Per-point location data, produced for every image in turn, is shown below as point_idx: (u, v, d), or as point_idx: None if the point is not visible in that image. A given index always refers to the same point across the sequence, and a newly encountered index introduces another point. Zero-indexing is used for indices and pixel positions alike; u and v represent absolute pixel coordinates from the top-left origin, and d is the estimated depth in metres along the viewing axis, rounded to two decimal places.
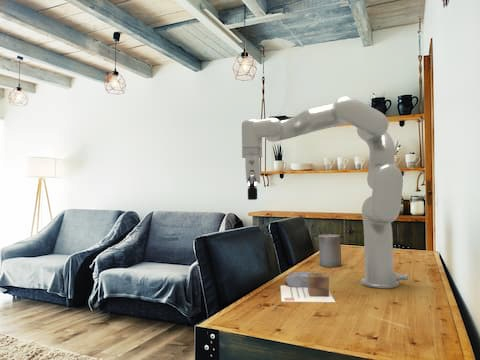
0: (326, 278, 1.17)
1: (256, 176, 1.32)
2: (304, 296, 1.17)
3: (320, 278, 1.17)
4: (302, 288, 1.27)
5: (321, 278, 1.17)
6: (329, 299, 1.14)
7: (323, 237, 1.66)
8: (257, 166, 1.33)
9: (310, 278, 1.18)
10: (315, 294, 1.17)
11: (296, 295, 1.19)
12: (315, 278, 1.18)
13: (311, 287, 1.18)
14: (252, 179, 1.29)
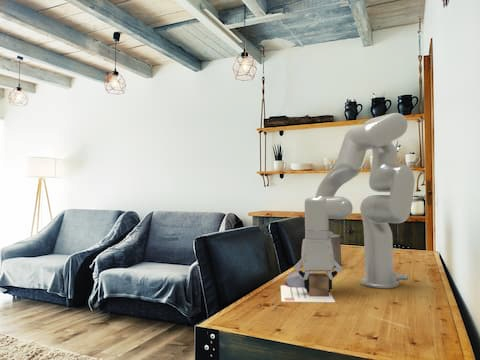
0: (326, 278, 1.17)
1: None
2: (304, 296, 1.17)
3: (320, 278, 1.17)
4: (302, 288, 1.27)
5: (321, 278, 1.17)
6: (329, 299, 1.14)
7: None
8: None
9: (310, 278, 1.18)
10: (315, 294, 1.17)
11: (296, 295, 1.19)
12: (315, 278, 1.18)
13: (311, 287, 1.18)
14: None
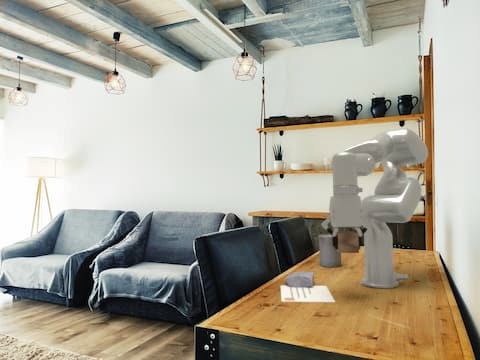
0: (356, 234, 1.14)
1: None
2: (304, 296, 1.17)
3: (349, 234, 1.14)
4: (302, 288, 1.27)
5: (351, 234, 1.14)
6: (329, 299, 1.14)
7: (323, 237, 1.66)
8: None
9: (339, 234, 1.15)
10: (344, 251, 1.14)
11: (296, 295, 1.19)
12: (344, 234, 1.14)
13: (340, 244, 1.14)
14: None
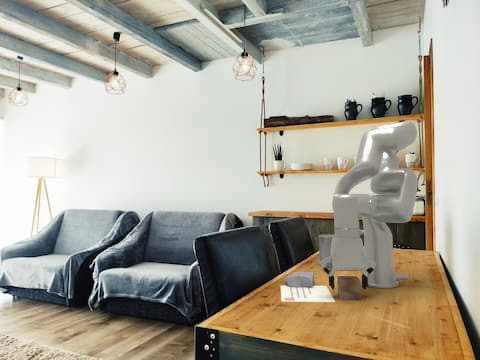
0: (358, 281, 1.13)
1: None
2: (304, 296, 1.17)
3: (351, 281, 1.14)
4: (302, 288, 1.27)
5: (353, 281, 1.14)
6: (329, 299, 1.14)
7: (323, 237, 1.66)
8: None
9: (341, 281, 1.14)
10: (346, 298, 1.14)
11: (296, 295, 1.19)
12: (346, 281, 1.14)
13: (342, 291, 1.14)
14: None
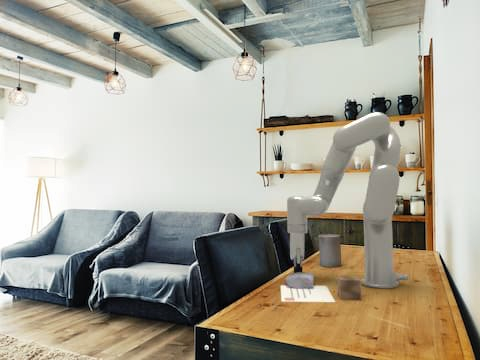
0: (358, 281, 1.13)
1: None
2: (304, 296, 1.17)
3: (351, 281, 1.14)
4: (302, 288, 1.27)
5: (353, 281, 1.14)
6: (329, 299, 1.14)
7: (323, 237, 1.66)
8: None
9: (341, 281, 1.14)
10: (346, 298, 1.14)
11: (296, 295, 1.19)
12: (346, 281, 1.14)
13: (342, 291, 1.14)
14: None
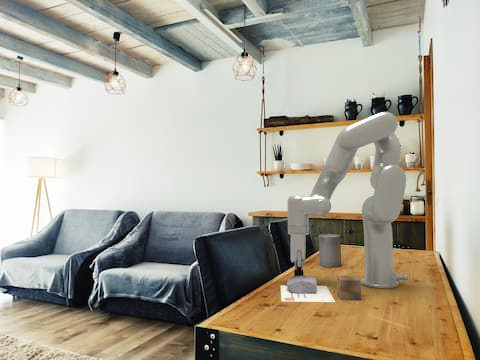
0: (358, 281, 1.13)
1: None
2: (304, 296, 1.17)
3: (351, 281, 1.14)
4: None
5: (353, 281, 1.14)
6: (329, 299, 1.14)
7: (323, 237, 1.66)
8: None
9: (341, 281, 1.14)
10: (346, 298, 1.14)
11: (296, 295, 1.19)
12: (346, 281, 1.14)
13: (342, 290, 1.14)
14: None
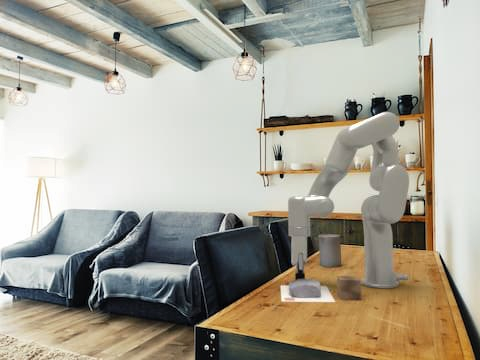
0: (358, 281, 1.13)
1: None
2: None
3: (351, 281, 1.14)
4: None
5: (353, 281, 1.14)
6: (329, 299, 1.14)
7: (323, 237, 1.66)
8: None
9: (341, 281, 1.14)
10: (346, 298, 1.14)
11: None
12: (346, 281, 1.14)
13: (342, 290, 1.14)
14: None
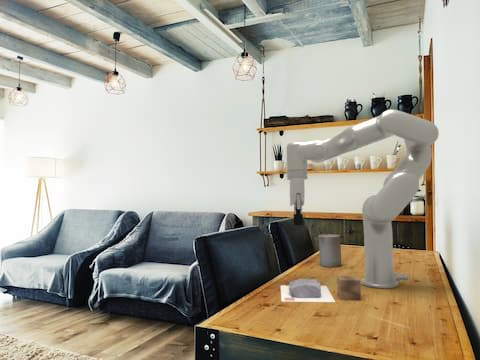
0: (358, 281, 1.13)
1: None
2: None
3: (351, 281, 1.14)
4: None
5: (353, 281, 1.14)
6: (329, 299, 1.14)
7: (323, 237, 1.66)
8: None
9: (341, 281, 1.14)
10: (346, 298, 1.14)
11: None
12: (346, 281, 1.14)
13: (342, 291, 1.14)
14: None
